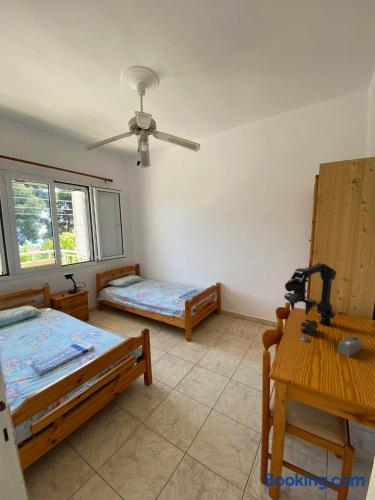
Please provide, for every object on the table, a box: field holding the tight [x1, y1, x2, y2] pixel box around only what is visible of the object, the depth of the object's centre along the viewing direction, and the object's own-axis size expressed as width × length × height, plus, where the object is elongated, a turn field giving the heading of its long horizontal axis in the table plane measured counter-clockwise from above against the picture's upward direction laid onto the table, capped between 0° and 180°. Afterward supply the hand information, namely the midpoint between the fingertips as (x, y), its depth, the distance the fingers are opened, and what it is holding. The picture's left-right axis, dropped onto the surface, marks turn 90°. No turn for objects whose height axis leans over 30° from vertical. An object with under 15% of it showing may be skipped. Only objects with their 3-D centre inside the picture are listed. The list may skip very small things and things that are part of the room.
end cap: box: [300, 319, 319, 336], centre depth 133 cm, size 10×7×7 cm
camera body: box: [337, 335, 362, 358], centre depth 114 cm, size 13×6×7 cm, turn 118°
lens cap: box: [299, 335, 311, 343], centre depth 125 cm, size 5×5×1 cm
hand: (299, 312), depth 132 cm, fingers open, 9 cm apart
